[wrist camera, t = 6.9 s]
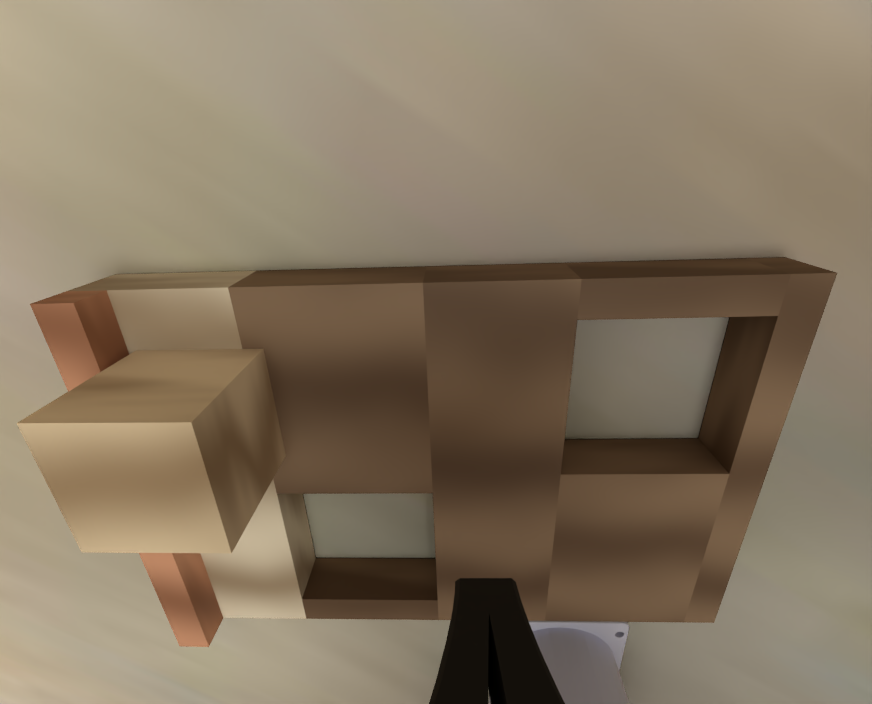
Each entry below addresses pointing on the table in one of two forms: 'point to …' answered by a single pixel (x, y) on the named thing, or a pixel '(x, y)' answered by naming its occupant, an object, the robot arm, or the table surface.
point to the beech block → (161, 451)
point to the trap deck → (468, 429)
